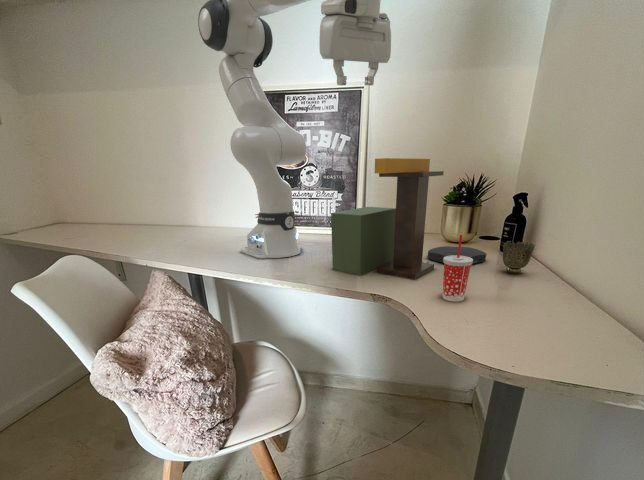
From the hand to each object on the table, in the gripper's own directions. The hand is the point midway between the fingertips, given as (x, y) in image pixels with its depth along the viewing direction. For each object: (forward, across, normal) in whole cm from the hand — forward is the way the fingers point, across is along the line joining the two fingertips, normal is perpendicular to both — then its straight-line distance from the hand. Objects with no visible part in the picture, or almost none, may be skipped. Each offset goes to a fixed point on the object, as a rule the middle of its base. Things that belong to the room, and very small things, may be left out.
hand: (355, 85), depth 81 cm
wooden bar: (+17, -2, +17) cm, 24 cm away
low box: (+45, +1, +9) cm, 46 cm away
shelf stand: (+43, -3, +21) cm, 48 cm away
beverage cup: (+38, +7, +41) cm, 57 cm away
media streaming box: (+44, -23, +26) cm, 56 cm away
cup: (+41, -21, +44) cm, 63 cm away
